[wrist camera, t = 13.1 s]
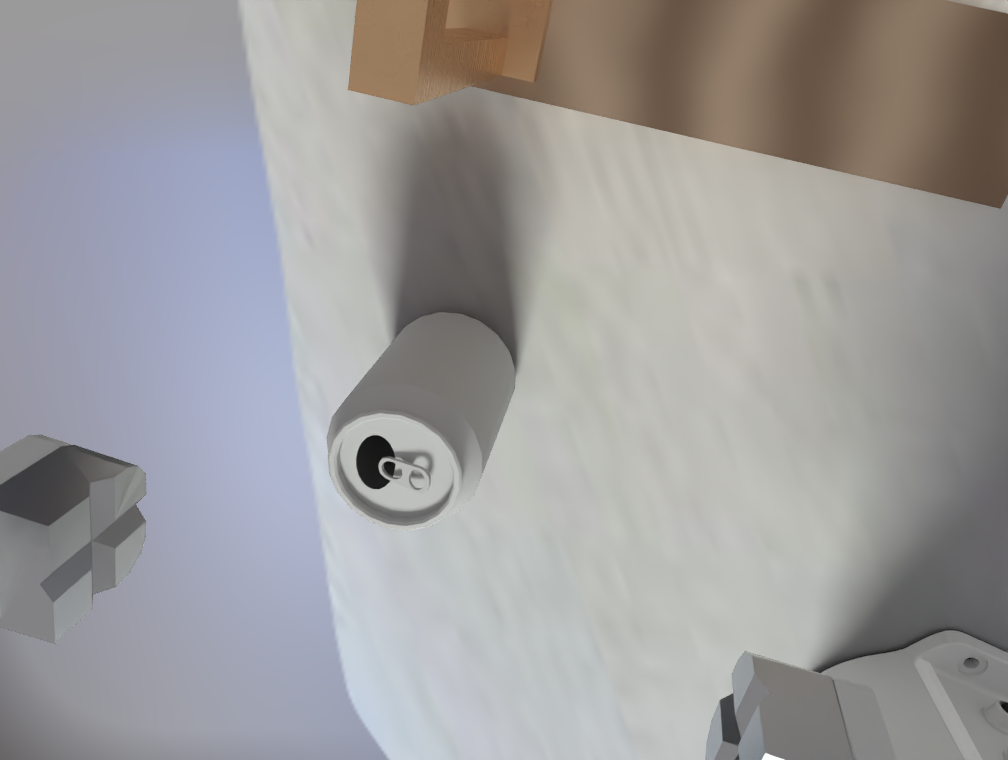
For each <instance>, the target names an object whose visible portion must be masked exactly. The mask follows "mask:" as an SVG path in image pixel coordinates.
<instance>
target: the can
mask: <svg viewBox="0 0 1008 760" xmlns="http://www.w3.org/2000/svg"><path fill="white" fill-rule="evenodd" d="M514 389H515V368H514V364H513V361H512V358H511V355H510V352H509V350H508V349H507V347H506V346H505V344H504V343H503V342H502V340H501V339H500V337H499V336H498V335H497V334H496V333H495V332H494V331H492V330H491V329H490V328H489V327H487V326H486V325H485V324H483V323H482V322H481V321H479V320H476V319H473V318H471V317H468V316H466V315H463V314H460V313H447V312H438V313H434V314H429V315H425V316H421V317H419V318H418V319H416V320H415V321H413V322H412V323H410V324H408V325H407V326H405V327H404V328H403V330H402V331H401V332H400V333H399V335H398V336H397V337H396V338H395V339H394V341H393V342H392V343H391V344H390V346H389V347H388V348H387V349H386V350H385V352H384V353H383V354H382V355H381V357H380V358H379V359H378V360H377V361H376V363H375V364H374V365H373V366H372V368H371V369H370V370H369V371H368V372H367V374H366V375H365V376H364V377H363V379H362V380H361V381H360V382H359V383H358V385H357V386H356V387H355V388H354V390H353V391H352V392H351V393H350V394H349V396H348V397H347V398H346V399H345V401H344V402H343V403H342V405H341V406H340V407H339V409H338V410H337V411H336V413H335V414H334V415H333V417H332V420H331V423H330V427H329V431H328V435H327V445H328V463H329V473H330V476H331V479H332V481H333V483H334V486H335V488H336V490H337V492H338V494H339V495H340V496H341V497H342V498H343V500H344V501H345V502H346V503H347V504H348V506H349V507H350V508H351V509H353V510H354V511H355V512H357V513H358V514H360V515H361V516H362V517H364V518H365V519H367V520H368V521H371V522H373V523H376V524H378V525H381V526H384V527H386V528H392V529H400V530H413V529H419V528H426V527H428V526H430V525H432V524H434V523H436V522H438V521H440V520H442V519H444V518H446V517H448V516H450V515H452V514H454V513H456V512H458V511H459V510H461V509H462V507H463V506H464V505H465V504H466V503H467V502H468V501H469V500H470V499H471V498H472V497H473V496H474V494H475V491H476V489H477V486H478V484H479V481H480V479H481V476H482V474H483V471H484V468H485V466H486V463H487V460H488V458H489V455H490V452H491V450H492V447H493V445H494V442H495V439H496V437H497V434H498V431H499V429H500V426H501V423H502V421H503V418H504V416H505V413H506V410H507V408H508V405H509V402H510V400H511V397H512V395H513V392H514Z"/></svg>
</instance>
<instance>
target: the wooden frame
mask: <svg viewBox="0 0 1008 760" xmlns="http://www.w3.org/2000/svg"><path fill="white" fill-rule="evenodd" d="M552 4H553V0H357V5H356V16H355V26H354V36H353V46H352V56H351V66H350V76H349V86H348V90H351V91H355V92H359V93H364V94H368V95H372V96H376V97H381V98H385V99H389V100H393V101H398V102H402V103H406V104H410V105H416V104H419V103H422V102H425V101H428V100H431V99H434V98H437V97H440V96H442V95H445V94H448V93H451V92H454V91H457V90H460V89H463V88H466V87H469V86H472V85H474V84H477V83H480V82H483V81H486V80H489V79H492V78H495V77H498V76H501V75H503V76H507V77H512V78H516V79H520V80H525V81H529V82H535V81H537V78H538V73H539V68H540V63H541V58H542V53H543V48H544V43H545V38H546V33H547V29H548V24H549V19H550V14H551V9H552Z"/></svg>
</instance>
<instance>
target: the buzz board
mask: <svg viewBox="0 0 1008 760" xmlns="http://www.w3.org/2000/svg"><path fill="white" fill-rule="evenodd" d="M472 86H473V87H477V88H482V89H486V90H490V91H495V92H499V93H503V94H508V95H512V96H516V97H520V98H525V99H529V100H533V101H538V102H542V103H546V104H551V105H555V106H559V107H564V108H568V109H572V110H577V111H581V112H585V113H590V114H594V115H598V116H603V117H607V118H611V119H616V120H620V121H624V122H629V123H633V124H637V125H642V126H646V127H650V128H655V129H659V130H663V131H668V132H672V133H676V134H681V135H685V136H689V137H693V138H698V139H702V140H706V141H711V142H715V143H719V144H724V145H728V146H732V147H737V148H741V149H745V150H750V151H754V152H758V153H763V154H767V155H771V156H776V157H780V158H784V159H789V160H793V161H797V162H802V163H806V164H810V165H815V166H819V167H823V168H828V169H832V170H836V171H841V172H845V173H849V174H853V175H858V176H862V177H866V178H871V179H875V180H879V181H884V182H888V183H892V184H897V185H901V186H905V187H910V188H914V189H918V190H923V191H927V192H931V193H936V194H940V195H944V196H949V197H953V198H957V199H962V200H966V201H970V202H975V203H979V204H983V205H988V206H992V207H996V208H1001V207H1002V205H1003V203H1004V201H1005V199H1006V197H1007V195H1008V0H553V4H552V9H551V14H550V19H549V24H548V29H547V33H546V38H545V43H544V48H543V53H542V58H541V63H540V68H539V73H538V78H537V81H535V82H529V81H525V80H520V79H516V78H512V77H507V76H503V75H501V76H498V77H495V78H492V79H489V80H486V81H483V82H480V83H477V84H474V85H472Z"/></svg>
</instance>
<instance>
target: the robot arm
mask: <svg viewBox="0 0 1008 760" xmlns="http://www.w3.org/2000/svg"><path fill="white" fill-rule="evenodd" d="M145 495H146V473H145V472H144V471H143V470H142V469H141V468H140V467H139V466H137V465H134V464H130V463H127V462H124V461H122V460H119V459H116V458H113V457H110V456H106V455H103V454H100V453H97V452H94V451H91V450H88V449H85V448H82V447H79V446H76V445H70V444H68V443H66V442H63V441H59V440H56V439H53V438H50V437H47V436H44V435H29V436H26V437H25V438H23V439H21V440H19V441H18V442H16V443H14V444H13V445H11V446H9V447H7V448H6V449H4V450H2V451H0V628H4V629H7V630H11V631H14V632H17V633H20V634H24V635H27V636H31V637H34V638H37V639H40V640H44V641H47V642H50V643H54V644H56V643H57V641H59V640H60V639H61V638H62V637H63V636H64V635H65V634H66V633H67V632H68V631H69V630H70V629H71V628H73V627H74V625H76V624H77V623H78V622H79V621H80V620H81V619H82V618H83V617H84V616H85V615H86V614H87V613H88V612H90V611H91V610H92V603H93V594H96V593H99V592H102V591H105V590H108V589H111V588H114V587H116V586H117V585H118V584H119V583H120V582H121V581H122V580H123V579H124V578H125V577H126V576H127V575H128V574H129V573H130V572H131V570H132V568H133V566H134V565H135V563H136V561H137V559H138V558H139V556H140V554H141V552H142V548H143V544H144V541H145V537H146V520H145V519H144V517H143V515H142V514H141V512H140V511H139V509H138V507H137V505H136V503H138V501H140V500H141V499H142V498H143V497H144V496H145ZM967 658H971V659H968V660H966V659H967ZM732 685H733V694H731V695H729V696H727V697H725V698H723V699H721V700H720V701H719V704H718V706H717V708H716V711H715V713H714V716H713V718H712V721H711V726H710V730H709V734H708V739H707V746H706V759H705V760H1008V653H1007V652H1005V651H1003V650H1000V649H998V648H996V647H994V646H992V645H989V644H987V643H985V642H983V641H981V640H978V639H976V638H974V637H972V636H970V635H967V634H965V633H962V632H959V631H953V630H950V631H943V632H939V633H936V634H933V635H931V636H929V637H927V638H924V639H922V640H920V641H918V642H916V643H914V644H912V645H911V646H909V647H907V648H905V649H901V650H898V651H893V652H889V653H882V654H876V655H870V656H865V657H860V658H856V659H853V660H849V661H846V662H843V663H841V664H838V665H836V666H833V667H831V668H829V669H827V670H825V671H823V672H821V673H817V672H814V671H810V670H807V669H804V668H800V667H797V666H794V665H790V664H787V663H784V662H780V661H777V660H774V659H770V658H767V657H764V656H760V655H757V654H754V653H750V652H747V651H745V652H744V653H743V654H742V656H741V657H740V658H739V659H738V661H737V664H736V666H735V668H734V670H733V672H732Z"/></svg>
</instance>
